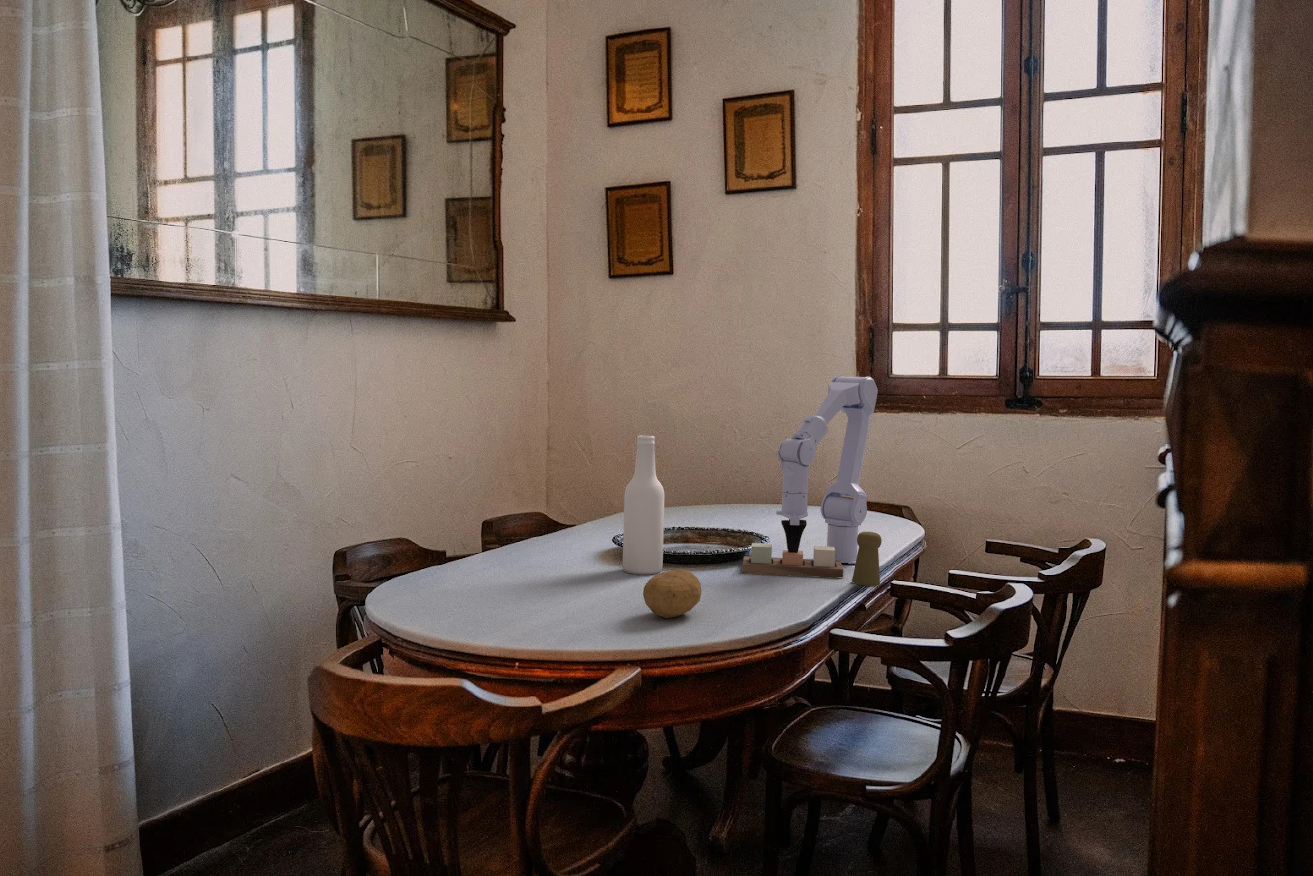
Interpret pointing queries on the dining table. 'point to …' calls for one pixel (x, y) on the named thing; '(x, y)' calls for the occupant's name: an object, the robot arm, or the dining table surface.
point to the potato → (672, 593)
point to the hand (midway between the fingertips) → (792, 552)
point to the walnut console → (792, 568)
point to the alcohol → (643, 514)
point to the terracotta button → (792, 558)
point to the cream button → (824, 556)
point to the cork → (867, 559)
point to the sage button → (761, 553)
